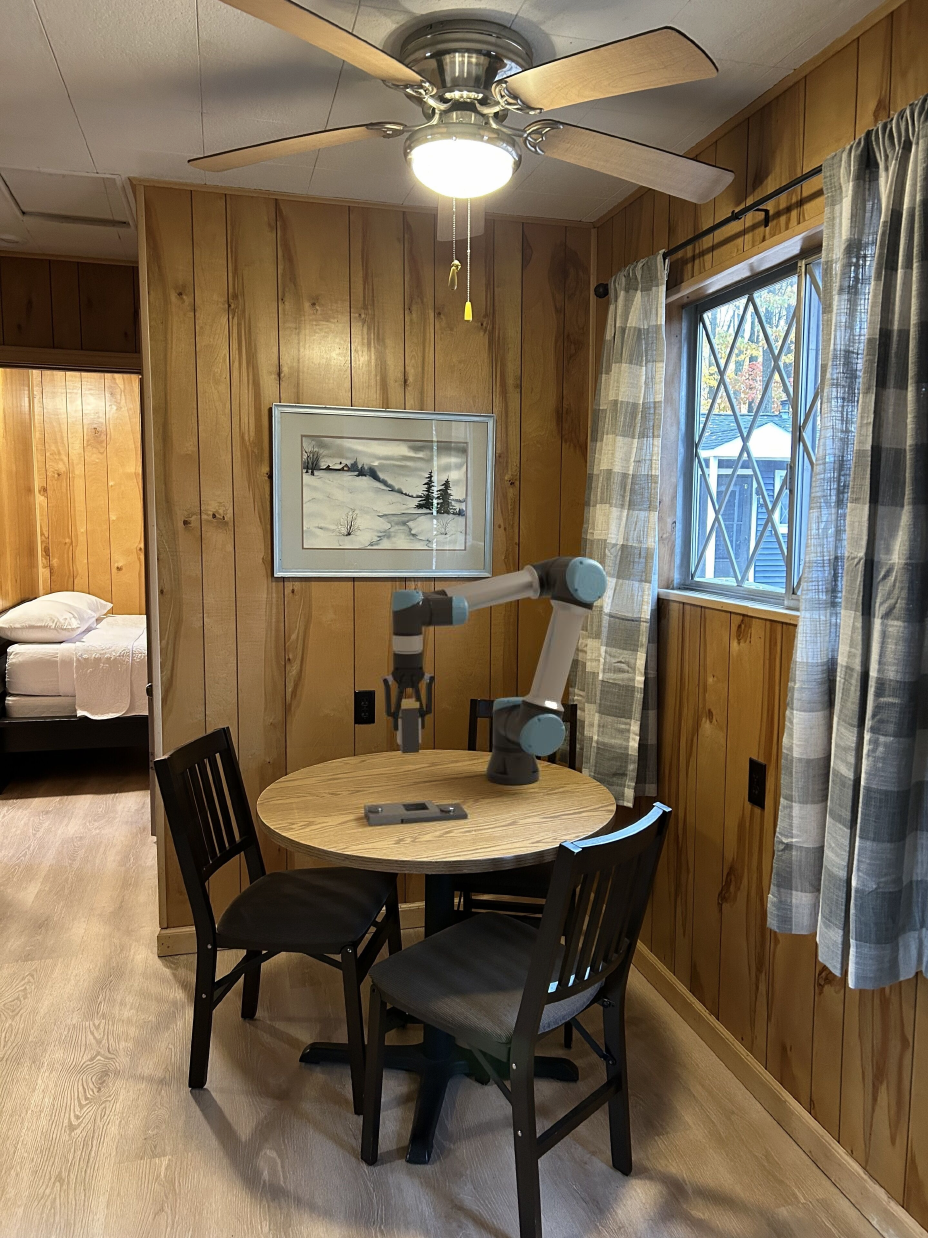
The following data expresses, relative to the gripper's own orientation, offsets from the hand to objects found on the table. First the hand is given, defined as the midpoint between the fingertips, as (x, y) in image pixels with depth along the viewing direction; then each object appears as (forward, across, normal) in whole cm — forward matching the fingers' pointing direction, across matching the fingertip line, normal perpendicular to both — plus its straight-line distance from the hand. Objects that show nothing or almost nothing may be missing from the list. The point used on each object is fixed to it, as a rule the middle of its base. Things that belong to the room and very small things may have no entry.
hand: (409, 742), depth 231 cm
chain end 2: (+16, -3, +10) cm, 19 cm away
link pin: (+2, 0, 0) cm, 2 cm away
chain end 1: (+16, +5, +10) cm, 20 cm away
